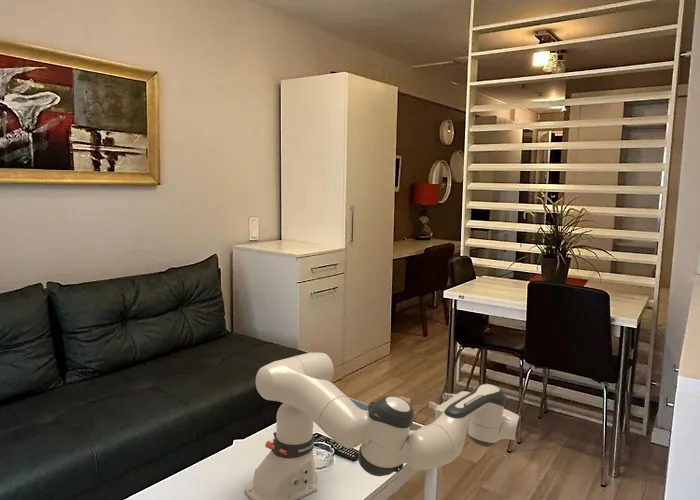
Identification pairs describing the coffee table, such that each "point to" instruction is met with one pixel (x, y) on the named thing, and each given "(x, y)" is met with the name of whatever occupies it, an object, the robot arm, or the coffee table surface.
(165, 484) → the coffee table surface
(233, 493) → the coffee table surface
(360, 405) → the parts tray
